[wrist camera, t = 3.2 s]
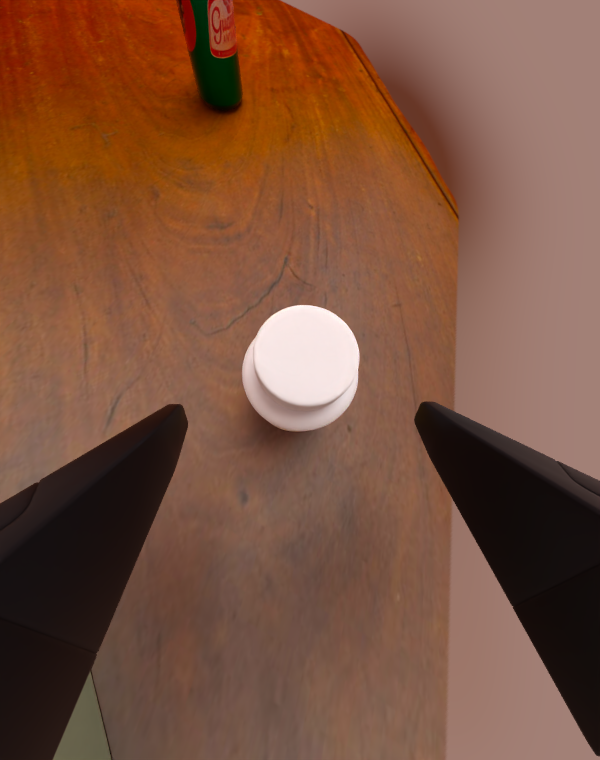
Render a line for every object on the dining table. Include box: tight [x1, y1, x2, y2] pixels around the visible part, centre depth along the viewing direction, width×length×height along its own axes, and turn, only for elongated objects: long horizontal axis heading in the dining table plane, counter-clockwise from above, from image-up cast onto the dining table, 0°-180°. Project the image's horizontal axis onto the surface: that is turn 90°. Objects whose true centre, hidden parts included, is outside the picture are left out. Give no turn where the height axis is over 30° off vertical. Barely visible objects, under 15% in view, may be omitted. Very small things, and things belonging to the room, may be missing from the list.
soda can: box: [176, 0, 243, 111], centre depth 19 cm, size 5×5×12 cm
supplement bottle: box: [242, 305, 359, 432], centre depth 13 cm, size 6×6×10 cm
